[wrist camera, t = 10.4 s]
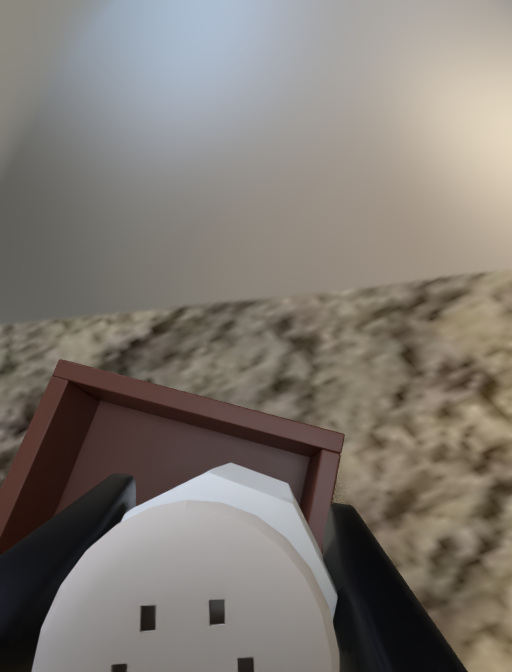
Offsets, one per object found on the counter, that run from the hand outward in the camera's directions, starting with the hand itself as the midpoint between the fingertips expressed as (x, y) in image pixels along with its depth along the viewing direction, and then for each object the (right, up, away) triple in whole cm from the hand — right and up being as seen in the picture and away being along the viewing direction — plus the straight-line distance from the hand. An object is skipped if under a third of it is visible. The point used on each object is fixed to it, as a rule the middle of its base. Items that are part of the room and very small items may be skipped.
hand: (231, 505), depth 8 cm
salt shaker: (0, -4, +6) cm, 7 cm away
